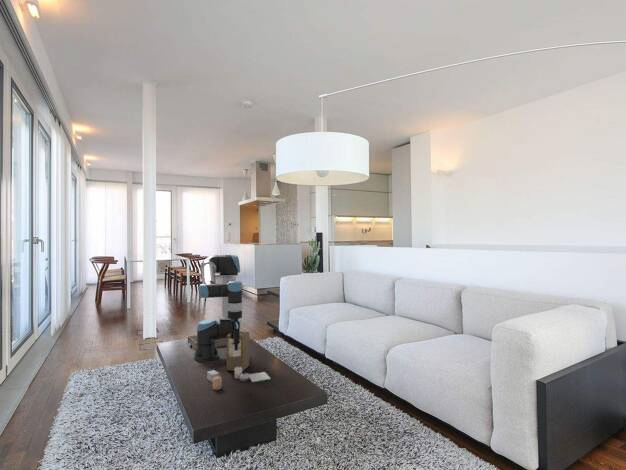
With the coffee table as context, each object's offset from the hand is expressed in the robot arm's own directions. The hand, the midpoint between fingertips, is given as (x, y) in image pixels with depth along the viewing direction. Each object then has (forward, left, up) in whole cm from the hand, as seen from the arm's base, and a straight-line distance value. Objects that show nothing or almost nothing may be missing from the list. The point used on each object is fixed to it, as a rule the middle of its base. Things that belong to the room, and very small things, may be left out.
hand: (234, 354), depth 191 cm
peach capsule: (+6, -10, -14) cm, 18 cm away
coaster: (+1, +13, -14) cm, 19 cm away
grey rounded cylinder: (-4, +3, -14) cm, 15 cm away
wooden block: (-18, +6, -14) cm, 24 cm away
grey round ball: (+1, +5, -14) cm, 15 cm away
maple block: (0, 0, 0) cm, 0 cm away
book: (-76, +1, -15) cm, 78 cm away
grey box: (-6, -10, -14) cm, 18 cm away
